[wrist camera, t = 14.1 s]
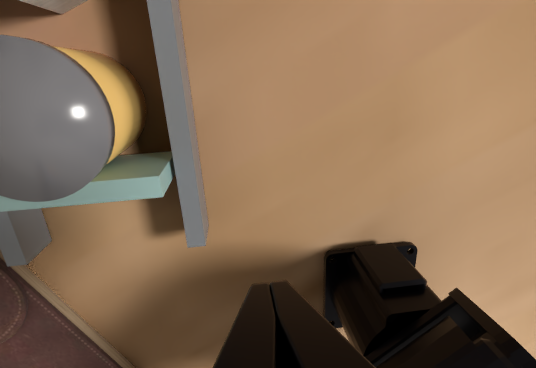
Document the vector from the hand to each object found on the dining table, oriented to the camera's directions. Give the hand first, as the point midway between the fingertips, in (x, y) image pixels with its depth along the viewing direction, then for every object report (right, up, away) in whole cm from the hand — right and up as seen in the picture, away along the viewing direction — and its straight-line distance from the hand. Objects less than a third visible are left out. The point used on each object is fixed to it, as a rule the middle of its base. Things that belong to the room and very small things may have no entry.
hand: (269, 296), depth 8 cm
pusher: (-9, +4, +10) cm, 14 cm away
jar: (-9, +7, +9) cm, 15 cm away
